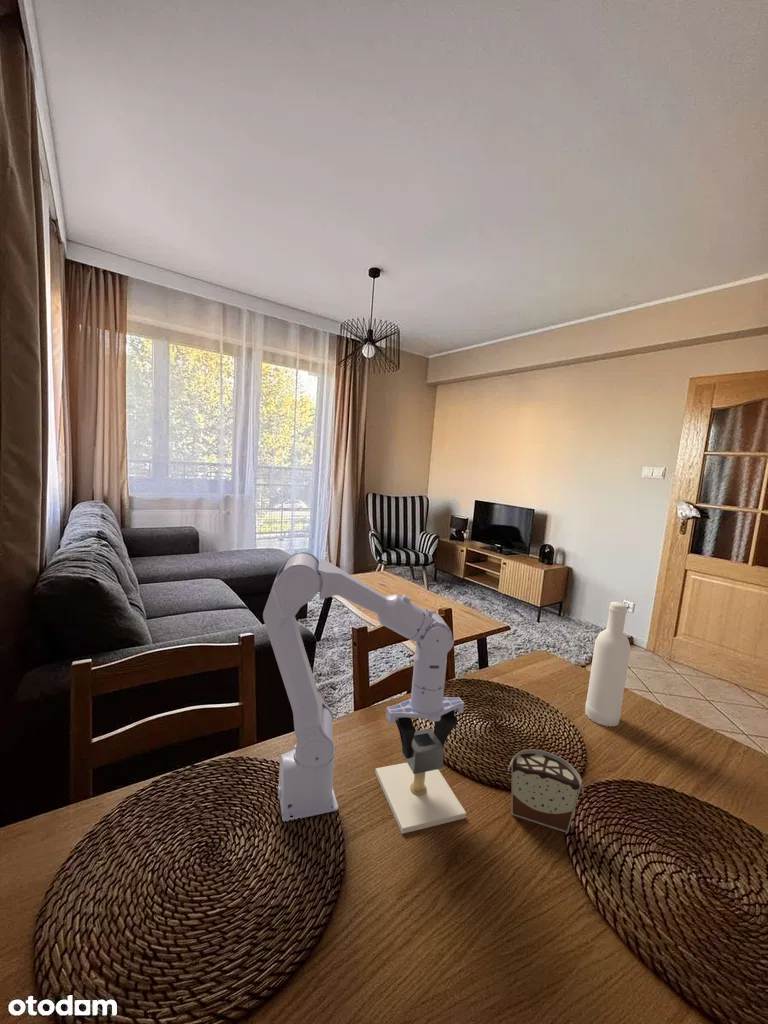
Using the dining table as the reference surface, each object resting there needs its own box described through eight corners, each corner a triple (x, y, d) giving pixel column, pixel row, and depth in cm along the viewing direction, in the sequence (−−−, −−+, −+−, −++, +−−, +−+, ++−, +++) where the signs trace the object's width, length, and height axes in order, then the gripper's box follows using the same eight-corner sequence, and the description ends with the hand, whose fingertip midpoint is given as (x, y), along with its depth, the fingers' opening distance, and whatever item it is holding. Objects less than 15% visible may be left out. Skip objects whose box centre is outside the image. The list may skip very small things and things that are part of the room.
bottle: (587, 704, 113) (603, 596, 110) (621, 716, 109) (638, 604, 105) (581, 718, 107) (598, 603, 103) (616, 731, 102) (635, 612, 99)
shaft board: (401, 833, 70) (404, 803, 69) (375, 773, 83) (377, 747, 82) (465, 818, 74) (468, 789, 74) (430, 762, 87) (433, 737, 87)
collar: (413, 774, 74) (415, 753, 74) (401, 752, 79) (403, 732, 79) (442, 768, 76) (444, 747, 75) (428, 747, 81) (430, 728, 81)
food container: (574, 809, 78) (581, 759, 77) (577, 836, 72) (585, 782, 71) (504, 787, 82) (510, 739, 81) (502, 811, 76) (508, 760, 75)
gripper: (398, 699, 70) (392, 774, 71) (475, 689, 75) (467, 760, 76) (384, 677, 76) (378, 747, 78) (455, 669, 81) (449, 735, 83)
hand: (421, 751), depth 78 cm, fingers closed on collar, 6 cm apart
